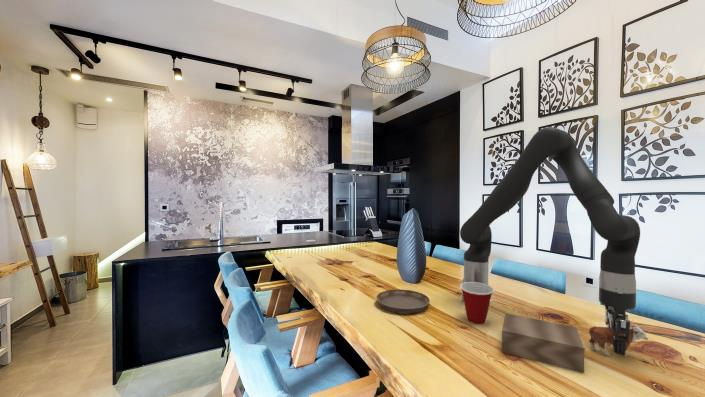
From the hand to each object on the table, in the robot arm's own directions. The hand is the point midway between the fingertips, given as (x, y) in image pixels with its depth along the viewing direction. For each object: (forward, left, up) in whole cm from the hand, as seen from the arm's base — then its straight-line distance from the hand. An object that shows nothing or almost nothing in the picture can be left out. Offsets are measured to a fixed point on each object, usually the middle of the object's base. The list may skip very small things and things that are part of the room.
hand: (616, 349), depth 79 cm
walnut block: (-18, -9, -1) cm, 20 cm away
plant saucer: (-63, +2, -2) cm, 63 cm away
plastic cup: (-36, +2, -2) cm, 36 cm away
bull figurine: (0, 0, -2) cm, 2 cm away
